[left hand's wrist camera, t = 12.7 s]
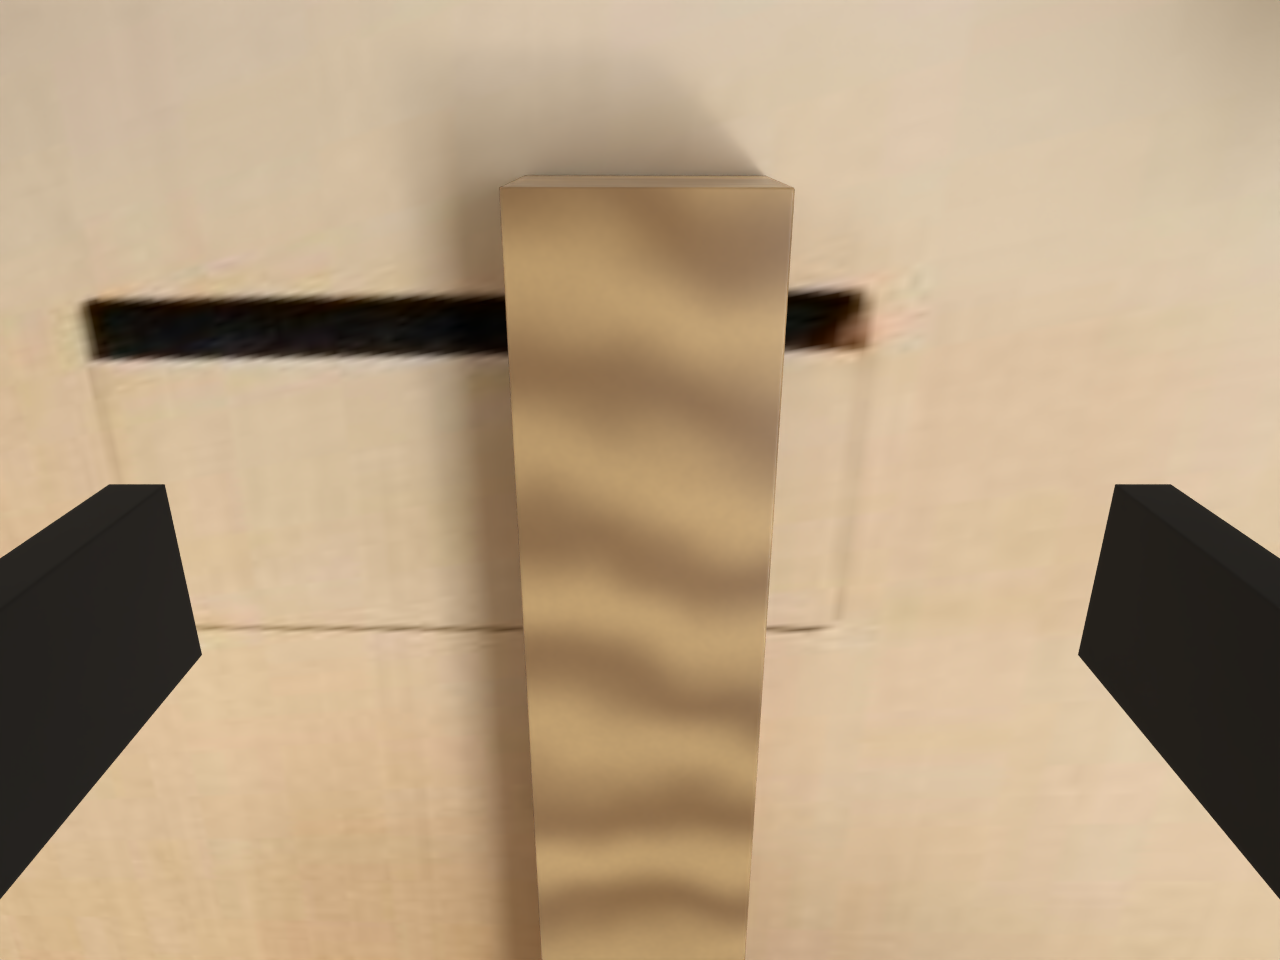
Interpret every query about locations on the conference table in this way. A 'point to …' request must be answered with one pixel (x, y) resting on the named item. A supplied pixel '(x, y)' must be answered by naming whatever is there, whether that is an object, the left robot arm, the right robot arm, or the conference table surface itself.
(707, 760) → the slab
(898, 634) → the conference table surface
